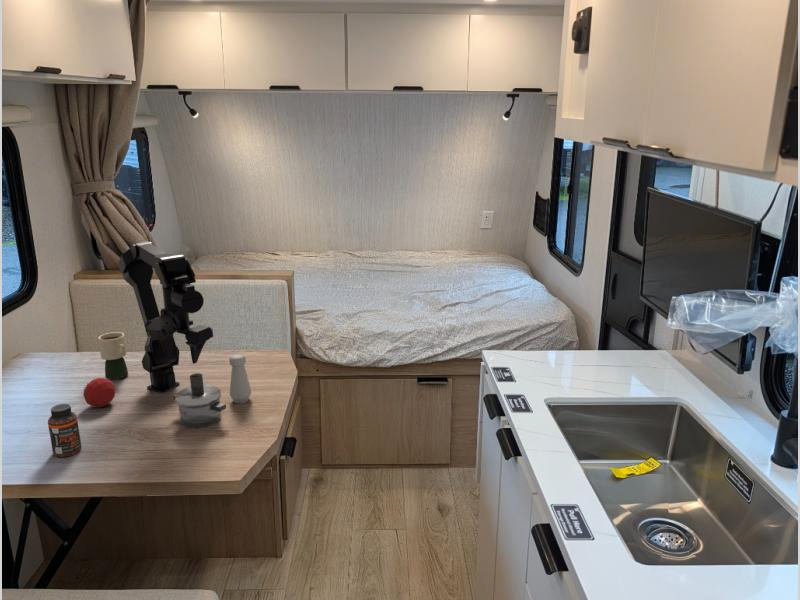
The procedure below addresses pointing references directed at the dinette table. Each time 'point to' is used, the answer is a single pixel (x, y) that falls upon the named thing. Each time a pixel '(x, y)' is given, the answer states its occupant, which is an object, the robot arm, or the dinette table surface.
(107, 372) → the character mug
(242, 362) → the salt shaker
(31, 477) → the dinette table surface
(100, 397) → the tomato
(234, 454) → the dinette table surface
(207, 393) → the cooker lid
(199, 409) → the cooker pot
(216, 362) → the dinette table surface
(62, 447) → the supplement bottle
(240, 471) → the dinette table surface
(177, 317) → the robot arm
